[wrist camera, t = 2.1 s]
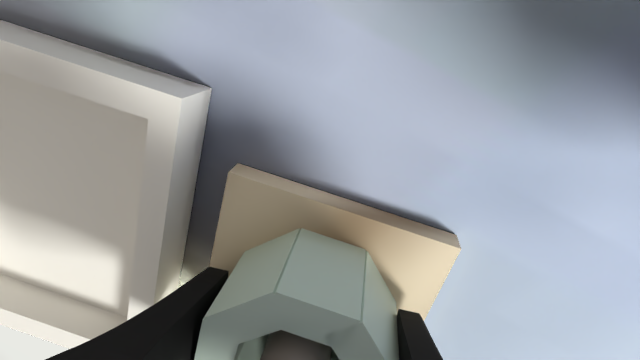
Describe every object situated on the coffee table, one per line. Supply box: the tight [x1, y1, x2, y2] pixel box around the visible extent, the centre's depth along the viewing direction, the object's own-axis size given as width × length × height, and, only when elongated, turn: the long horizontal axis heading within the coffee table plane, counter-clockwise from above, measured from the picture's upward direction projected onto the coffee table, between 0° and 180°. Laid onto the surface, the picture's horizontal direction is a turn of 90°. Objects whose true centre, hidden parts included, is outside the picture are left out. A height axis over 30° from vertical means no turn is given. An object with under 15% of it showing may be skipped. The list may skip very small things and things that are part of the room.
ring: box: [194, 228, 399, 360], centre depth 11 cm, size 5×6×3 cm
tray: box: [0, 20, 212, 349], centre depth 12 cm, size 9×10×2 cm
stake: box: [209, 163, 461, 360], centre depth 11 cm, size 7×7×5 cm
